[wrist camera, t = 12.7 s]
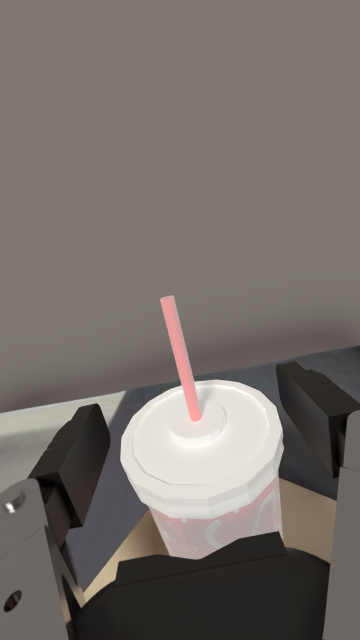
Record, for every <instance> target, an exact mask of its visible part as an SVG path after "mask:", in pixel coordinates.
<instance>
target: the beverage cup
mask: <svg viewBox="0 0 360 640" xmlns="http://www.w3.org/2000/svg"><path fill="white" fill-rule="evenodd" d="M160 301H161V305H162V309H163V313H164V317H165V321H166V325H167V329H168V333H169V337H170V341H171V345H172V348H173V352H174V356H175V360H176V364H177V368H178V372H179V376H180V380H181V384H182V386H179V387H176V388H173V389H170V390H168V391H166V392H164V393H163V394H161V395H159V396H157V397H156V398H154V399H152V400H150V401H149V402H148V403H147V404H146V405H145V406H144V407H143V408H142V409H141V410H140V411H138V412H137V413H136V414H135V415H134V416H133V417H132V419H131V421H130V423H129V425H128V427H127V428H126V430H125V432H124V434H123V436H122V441H121V463H122V466H123V468H124V470H125V471H126V473H127V476H128V479H129V481H130V483H131V484H132V486H133V488H134V490H135V491H136V493H137V495H138V496H139V498H140V500H141V502H143V503H145V504H147V505H148V507H149V509H150V511H151V514H152V516H153V518H154V520H155V523H156V525H157V527H158V529H159V532H160V534H161V536H162V539H163V541H164V543H165V545H166V548H167V550H168V552H169V554H170V556H175V557H182V558H189V559H201V558H203V557H205V556H207V555H209V554H211V553H213V552H214V551H216V550H218V549H220V548H222V547H224V546H226V545H228V544H229V543H231V542H233V541H235V540H237V539H239V538H244V537H249V536H254V535H260V534H265V533H270V532H275V531H279V532H280V535H281V538H282V540H283V533H282V519H281V505H280V490H279V476H278V468H279V465H280V461H281V457H282V454H283V450H284V446H283V443H282V439H283V430H282V426H281V423H280V420H279V416H278V413H277V409H276V406H275V405H273V404H272V403H271V402H270V401H269V400H268V399H267V398H266V397H265V396H264V395H263V394H262V393H261V392H260V391H258V390H256V389H253V388H251V387H249V386H246V385H244V384H241V383H239V382H231V381H223V380H208V381H199V382H194V380H193V375H192V371H191V367H190V363H189V358H188V354H187V350H186V346H185V342H184V337H183V333H182V329H181V325H180V320H179V317H178V312H177V308H176V304H175V299H174V296H167V297H163V298H161V299H160Z"/></svg>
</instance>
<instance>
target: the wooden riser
mask: <svg viewBox="0 0 360 640" xmlns="http://www.w3.org/2000/svg"><path fill="white" fill-rule="evenodd" d="M279 490H280V505H281V519H282V533H283V543H284V546H285V547H290V548H295V549H299V550H302V551H305V552H308V553H310V554H313V555H315V556H317V557H319V558H321V559H323V560H325V561H327V562H329V563H330V564H331V553H332V543H333V533H334V523H335V513H336V503H337V501H335V500H333V499H330V498H328V497H325V496H323V495H321V494H318V493H316V492H313V491H311V490H308V489H306V488H303V487H301V486H298V485H296V484H294V483H291V482H289V481H286V480H284V479H281V478H279ZM155 554H160V555H167V556H170V554H169V552H168V550H167V548H166V545H165V543H164V541H163V539H162V536H161V534H160V532H159V529H158V527H157V525H156V523H155V520H154V518H153V516H152V514H151V511H150V509H149V510H148V511H147V512H146V514H145V515H144V516H143V518H142V519H141V520H140V521H139V523H138V524H137V525H136V527H135V528H134V529H133V530H132V532H131V533H130V534H129V536H128V537H127V538H126V539H125V541H124V542H123V543H122V545H121V546H120V547H119V548H118V550H117V551H116V552H115V554H114V555H113V556H112V558H111V559H110V560H109V561H108V563H107V564H106V565H105V567H104V568H103V569H102V570H101V572H100V573H99V574H98V576H97V577H96V578H95V579H94V581H93V582H92V583H91V585H90V586H89V587H88V588H87V590H86V591H85V592H84V594H83V595H84V598H85V601H86V602H87V601H88V600H89V599H90V598H91V597H92V596H94V595H95V594H96V593H97V592H98V591H99V590H101V589H102V588H103V587H105V586H106V585H108V584H109V583H110V582H112V581H114V580H115V578H116V573H117V567H118V562H119V561H123V560H129V559H134V558H139V557H144V556H150V555H155Z"/></svg>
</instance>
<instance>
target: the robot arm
mask: <svg viewBox="0 0 360 640" xmlns="http://www.w3.org/2000/svg"><path fill="white" fill-rule="evenodd" d="M276 373H277V380H278V388H279V395H280V400H281V403H282V405H283V408H284V410H285V411H286V413H287V414H288V415H289V417H290V418H291V420H292V421H293V423H294V424H295V425H296V427H297V428H298V430H299V431H300V432H301V434H302V435H303V437H304V438H305V439H306V441H307V442H308V444H309V445H310V446H311V448H312V449H313V451H314V452H315V454H316V455H317V456H318V458H319V459H320V461H321V462H322V463H323V465H324V466H325V468H326V469H327V470H328V472H329V473H330V475H331V476H332V478H336V477H339V483H338V493H337V503H336V513H335V523H334V533H333V543H332V553H331V564H330V563H329V562H327V561H325V560H323V559H321V558H319V557H317V556H315V555H313V554H310V553H308V552H305V551H302V550H299V549H295V548H290V547H285V546H284V543H283V540H282V538H281V535H280V532H279V531H275V532H270V533H265V534H260V535H254V536H249V537H244V538H239V539H237V540H235V541H233V542H231V543H229V544H228V545H226V546H224V547H222V548H220V549H218V550H216V551H214V552H213V553H211V554H209V555H207V556H205V557H203V558H201V559H189V558H182V557H175V556H167V555H160V554H155V555H150V556H144V557H139V558H134V559H129V560H123V561H119V562H118V567H117V573H116V578H115V580H114V581H112V582H110V583H109V584H108V585H106V586H105V587H103V588H102V589H101V590H99V591H98V592H97V593H96V594H95V595H94V596H92V597H91V598H90V599H89V600H88V601H87V602H86V601H85V598H84V595H83V592H82V588H81V585H80V582H79V579H78V575H77V572H76V569H75V565H74V562H73V559H72V555H71V552H70V549H69V545H68V543H67V541H66V539H65V538H66V535H67V533H68V530H69V529H72V528H77V527H82V526H83V524H84V521H85V518H86V515H87V512H88V509H89V507H90V504H91V501H92V498H93V495H94V492H95V489H96V486H97V483H98V480H99V477H100V474H101V471H102V468H103V465H104V462H105V459H106V456H107V453H108V450H109V447H110V433H109V430H108V427H107V424H106V422H105V419H104V416H103V413H102V411H101V408H100V406H99V405H98V404H97V403H96V404H91V405H86V406H82V407H79V408H78V410H77V411H76V413H75V414H74V416H73V418H72V419H71V421H68V422H67V423H66V424H65V425H64V426H63V427H62V428H61V429H60V430H59V431H58V432H57V434H56V435H55V437H54V438H53V440H52V442H51V443H50V444H49V446H48V447H47V450H46V451H45V452H44V453H43V455H42V456H41V458H40V459H39V461H38V463H37V464H36V466H35V467H34V469H33V470H32V472H31V473H30V475H29V476H28V478H27V479H25V480H22V481H20V482H17V483H15V484H14V485H12V486H10V487H9V488H8V489H6V490H5V491H4V492H3V493H1V494H0V640H360V404H359V403H358V402H357V401H356V400H355V399H353V398H352V397H351V396H350V395H348V394H347V393H346V392H345V391H343V390H342V389H340V388H339V387H338V386H337V385H336V384H335V383H332V381H331V380H330V379H328V378H327V377H326V376H325V375H323V374H321V373H319V372H316V371H314V370H305V369H304V368H302V367H301V366H300V365H299V364H298V363H297V362H295V361H292V362H287V363H282V364H278V365H276Z"/></svg>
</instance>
